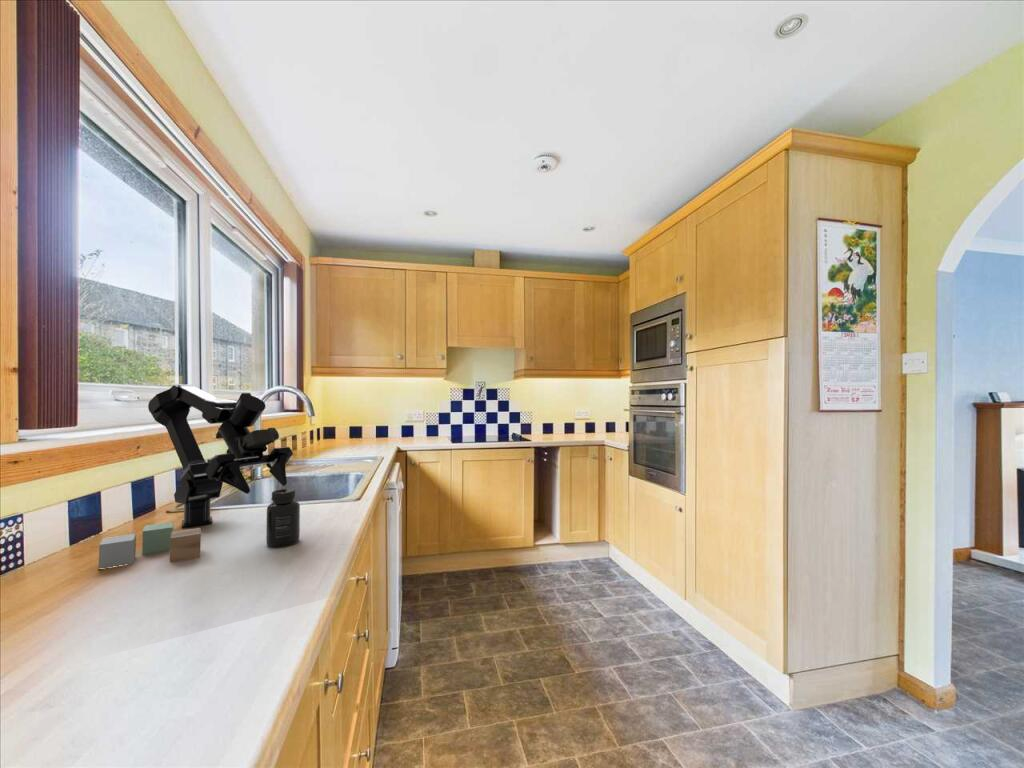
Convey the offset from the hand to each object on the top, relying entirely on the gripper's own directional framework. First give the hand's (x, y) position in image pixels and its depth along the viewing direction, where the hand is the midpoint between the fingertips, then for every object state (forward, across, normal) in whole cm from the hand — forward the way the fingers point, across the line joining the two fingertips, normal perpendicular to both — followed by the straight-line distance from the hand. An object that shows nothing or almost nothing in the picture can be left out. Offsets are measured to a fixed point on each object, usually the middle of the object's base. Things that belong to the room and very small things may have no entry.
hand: (267, 488), depth 102 cm
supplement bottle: (+13, 0, +5) cm, 13 cm away
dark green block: (-3, -15, +20) cm, 25 cm away
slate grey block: (-1, -23, +18) cm, 29 cm away
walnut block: (+5, -14, +12) cm, 20 cm away
